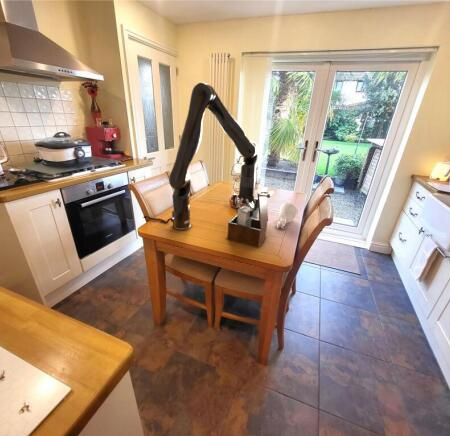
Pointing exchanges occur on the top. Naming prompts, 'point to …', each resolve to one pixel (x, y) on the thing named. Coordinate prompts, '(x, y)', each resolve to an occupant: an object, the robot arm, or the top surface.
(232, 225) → the case
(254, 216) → the grey cup
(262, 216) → the case lid
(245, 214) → the syrup box
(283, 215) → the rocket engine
